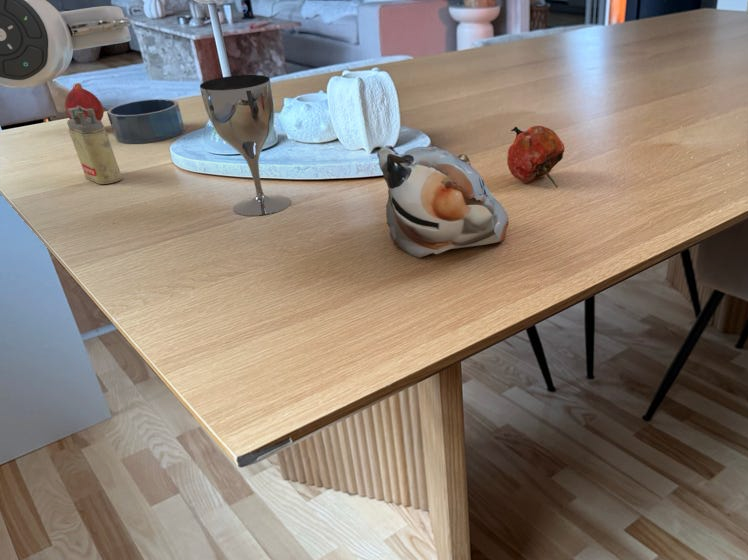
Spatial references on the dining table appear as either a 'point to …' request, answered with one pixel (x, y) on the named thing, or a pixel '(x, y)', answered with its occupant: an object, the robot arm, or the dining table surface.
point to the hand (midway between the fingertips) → (36, 39)
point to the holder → (146, 121)
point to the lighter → (93, 146)
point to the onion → (83, 101)
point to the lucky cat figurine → (438, 202)
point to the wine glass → (245, 129)
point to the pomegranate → (534, 153)
